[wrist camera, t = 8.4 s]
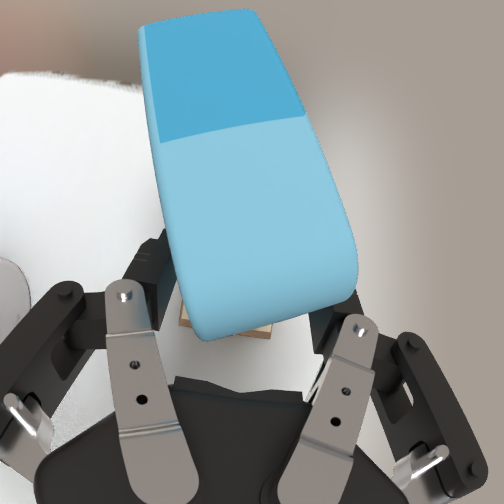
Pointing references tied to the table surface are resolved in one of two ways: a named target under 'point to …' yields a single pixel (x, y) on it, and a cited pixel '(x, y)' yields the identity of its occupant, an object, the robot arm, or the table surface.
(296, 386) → the table surface
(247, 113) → the data package
